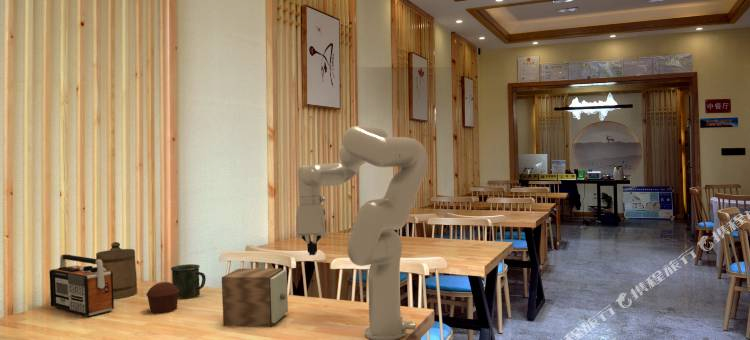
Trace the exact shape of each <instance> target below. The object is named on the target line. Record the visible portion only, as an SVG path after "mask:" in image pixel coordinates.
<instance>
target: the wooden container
mask: <svg viewBox="0 0 750 340" xmlns="http://www.w3.org/2000/svg"><path fill="white" fill-rule="evenodd" d="M110 244H111V245H110V246H111V248H110V249H107V250H104V251H103V250H102V251H98V252H96V253H95V256H96V257H95V259H99V260H102V263H103V270H104V271H111V272H112V273H113V298H114V300H115V299H124V298H129V297H131V296H134V295H136V294H138V284H137V282H138V281H137V277H138V276H137V266H136V265H137V264H136V251H135V249H134V248H121V247H120V246H121V243H120V242H116V241H115V242H112V243H110Z"/></svg>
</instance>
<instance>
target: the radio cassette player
mask: <svg viewBox="0 0 750 340" xmlns="http://www.w3.org/2000/svg"><path fill="white" fill-rule="evenodd" d="M59 257H60V259H59V260H60V261H59V267H57V268H52V269H49V271H48V272H49V296H50V307H54V308H56V309H58V310H59V309H60V310H64V311H66V312H67V311H68V312H71V313H74V314H79V315H82V316H85V317H86V318H87V317H88V318H89V317H91V316H95V315H98V314H101V313H108V312H110V311H112V310H115V303H114V301H115V299H114V298H113V273H112V272H111V271H104V270H103V263H102V260H99V259H96V258H91V257H85V256H78V255H74V254H73V255H72V254H60V256H59ZM66 260H67V261H73V262H79V263H85V264H91V265H87V266H80V265H70V266H67V262H66ZM93 265H96V266H93Z"/></svg>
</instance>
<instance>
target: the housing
mask: <svg viewBox="0 0 750 340" xmlns="http://www.w3.org/2000/svg"><path fill="white" fill-rule="evenodd" d="M283 270H284V269H283V268H282V267H281V268H280V267H279V268H237V269H234V270H233V271H231V272H229V273H227V274H225V275H224V276H222V277H221V294H222V295H221V297H222V299H221V300H222V301H221V302H222V322H223V324H222V325H223V327H248V328H249V327H255V328H257V327H259V328H260V327H262V328H263V327H264V328H265V327H266V328H267V327H270V328H271V327H272V326H273V325H274V324H275V323H272V321H271V290H270V278H272V277H273V276H275V275H276V274H278V273H279V272H281V271H283Z"/></svg>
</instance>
